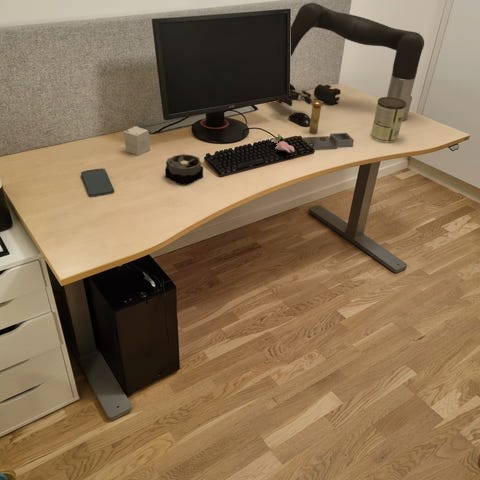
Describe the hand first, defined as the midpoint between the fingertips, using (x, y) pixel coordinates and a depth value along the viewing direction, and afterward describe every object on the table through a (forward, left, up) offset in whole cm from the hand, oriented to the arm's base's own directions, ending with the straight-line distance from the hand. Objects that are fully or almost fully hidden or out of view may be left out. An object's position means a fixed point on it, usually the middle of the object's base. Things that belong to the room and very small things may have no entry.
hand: (301, 102), depth 183 cm
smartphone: (+78, +41, -9) cm, 88 cm away
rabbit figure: (+15, +26, -8) cm, 31 cm away
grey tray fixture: (-3, +22, -8) cm, 24 cm away
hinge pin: (-2, +11, -8) cm, 14 cm away
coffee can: (-28, +19, -8) cm, 35 cm away
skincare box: (+65, +19, -8) cm, 68 cm away
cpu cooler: (+51, +40, -8) cm, 66 cm away
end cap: (-20, -22, -8) cm, 31 cm away
